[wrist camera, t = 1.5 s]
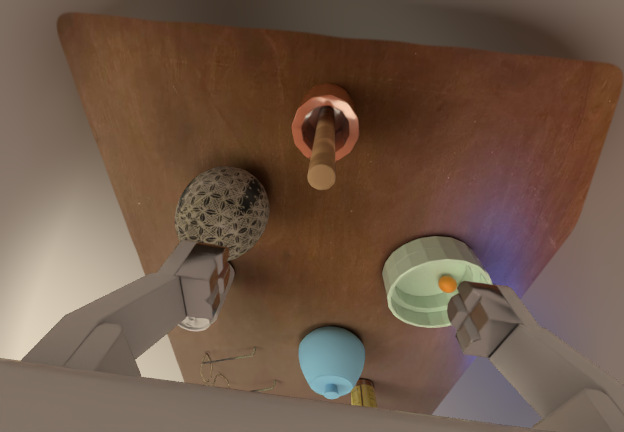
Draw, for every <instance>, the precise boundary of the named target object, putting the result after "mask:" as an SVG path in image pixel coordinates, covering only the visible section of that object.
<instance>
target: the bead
mask: <svg viewBox="0 0 624 432" xmlns="http://www.w3.org/2000/svg"><path fill="white" fill-rule="evenodd" d="M438 285H439V288H440V289H441V290H442V291H443V292H445V293H452V292H454V291H455V290H456V288H457V282H456V280H455V279H454V278H452V277H451V276H443V277H441V278H440V279H439V282H438Z"/></svg>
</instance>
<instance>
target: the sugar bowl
mask: <svg viewBox="0 0 624 432" xmlns="http://www.w3.org/2000/svg"><path fill="white" fill-rule="evenodd" d="M299 361H300V366H301V369H302V372H303V374H304V376H305V378H306V380H307V382H308V384H309V385H310V387H311V388H312V390H314V391H315V392H316V393H318V394H321V395H324V397H326V398H328V399H336V398H338V397H339V396H343V395H346V394H348V393H349V392H350V391H352V389H353V388H354V386H355V385H356V383H357V381H358V379H359V377H360V375H361V373H362V370H363V367H364V362H365V348H364V346H363V344H362V342H361V341H360V340H359V339H358V338H357V337H356V336H355V335H354V334H353V333H351V332H350V331H348V330H346V329H343V328H339V327H321V328H318V329H315V330H313V331H312V332H310V333H309V334H308V335H307V336H305V337H304V339H303V340H302V341H301V343H300V345H299Z"/></svg>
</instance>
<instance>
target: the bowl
mask: <svg viewBox="0 0 624 432" xmlns="http://www.w3.org/2000/svg"><path fill="white" fill-rule="evenodd" d="M382 276H383V283H384V287H385V292H386V297H387V302H388V307H389V308H390V310H391V311H392V313H393V314H394V316H396V317H397V318H399V319H400V320H402V321H403V322H405V323H408V324H411V325H414V326H417V327H427V328H435V327H446V326H450V325H452V324H451V323H450V321H449V318H448V313H447V308H448V302H449V301H450V299H451V297H452V296H454V295H456V294H458V290H457V288H456V290H455V291H454V292H452V293H445V292H443V291H442V290H441V289H440V288H439V285H438V282H439V279H440V278H441V277H443V276H451V277H452V278H454V279H455V280H456V282H457V287H458V286H459V284H460V283H461V282H463V281H470V282H478V283H485V284H491V285H493V284H492V282H491V279H490V276H489V274H488V273H487V271H486V270H485V268H484V267H483V265H482V264H481V262H480V261H479V259H478V258H477V256H476V255H475V253H474V252H473V250H472V249H470V248H469V247H468V246H467V245H466V244H465V243H464V242H461V241H459V240H456V239H454V238H451V237H441V236H432V237H425V238H419V239H416V240H414V241H411V242H409V243H406V244H404V245H403V246H401V247H400V248H398V249H397V250H396V251H394V252H393V253H392V254H391V256H390V257H389V258H388V259H387V261H386V262H385V265H384V268H383V272H382Z"/></svg>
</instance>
